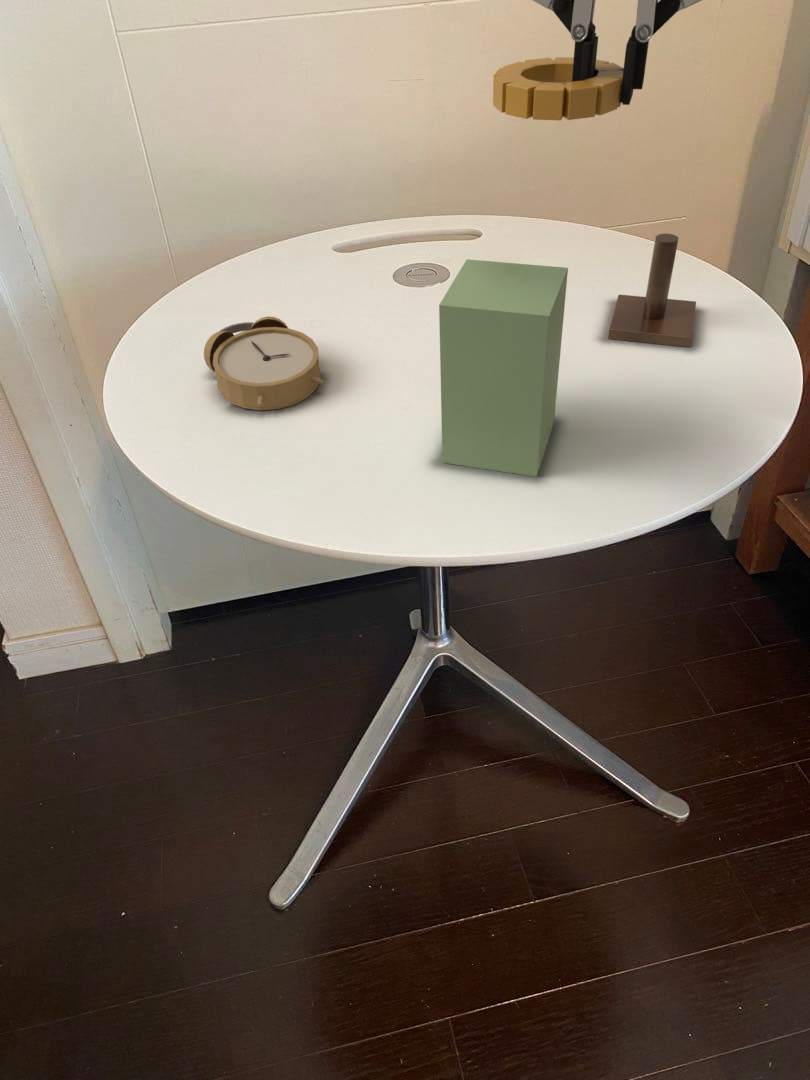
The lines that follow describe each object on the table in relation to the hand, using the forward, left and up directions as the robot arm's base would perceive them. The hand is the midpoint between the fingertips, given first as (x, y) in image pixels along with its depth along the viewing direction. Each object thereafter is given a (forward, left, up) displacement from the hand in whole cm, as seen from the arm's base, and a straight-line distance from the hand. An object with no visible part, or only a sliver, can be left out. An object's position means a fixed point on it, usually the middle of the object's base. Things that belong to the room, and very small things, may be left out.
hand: (605, 97), depth 61 cm
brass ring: (+4, 0, +1) cm, 4 cm away
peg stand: (-6, -22, -29) cm, 37 cm away
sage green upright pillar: (+6, +5, -29) cm, 30 cm away
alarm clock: (+34, -1, -29) cm, 45 cm away
